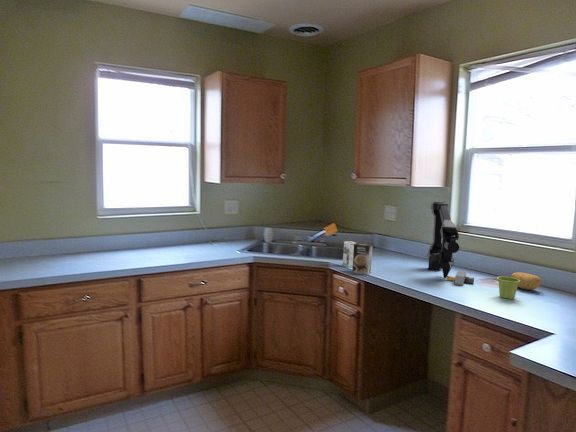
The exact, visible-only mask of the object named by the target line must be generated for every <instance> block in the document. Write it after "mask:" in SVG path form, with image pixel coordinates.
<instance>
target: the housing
mask: <svg viewBox="0 0 576 432" xmlns="http://www.w3.org/2000/svg"><path fill="white" fill-rule="evenodd" d="M454 277H455V281H454V285H455V286H464V285H465V283H464V280H465V278H466V277H467V270H461V269H460V270H459V269H458V270H457V272H456V274H455V276H454Z"/></svg>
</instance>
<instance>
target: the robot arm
mask: <svg viewBox="0 0 576 432" xmlns="http://www.w3.org/2000/svg"><path fill="white" fill-rule="evenodd" d="M430 210H431V214H432V215H433V233H432V234H433V236H432V242H431V244H430V245H429V249H428V251H427V253H426V258H427V260H428V267H426V269H427V270H430V271H435V272H440V271H442V275H443V279H447V276H449V273H450V271H452V267H453V266H454V265H453V264H455V258H454V257H453V256H454V254H456V253H457V252H459V251H460V245H459V243H458V242H456V241H458V240H459V239H460V235H459V231H458V228H457V227H456V224H455V223H454V222H453V221H452V218H451V214H450V211H449V203H448V202H445V201H433V202H432V203H431V204H430Z"/></svg>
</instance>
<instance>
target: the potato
mask: <svg viewBox="0 0 576 432" xmlns="http://www.w3.org/2000/svg"><path fill="white" fill-rule="evenodd" d="M510 277H512V278H516V279H519V280H520V282H519V284H518V286H517V288H520V289H522V290H525V291H532V290H536V289H537V288H538V287H540V286H541V283H542V279H541V278H540V276H538V275H536V274H535V275H534V274H531V273H527V272H520V271H519V272H518V271H517V272H513V273H512V274H511V275H510Z"/></svg>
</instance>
